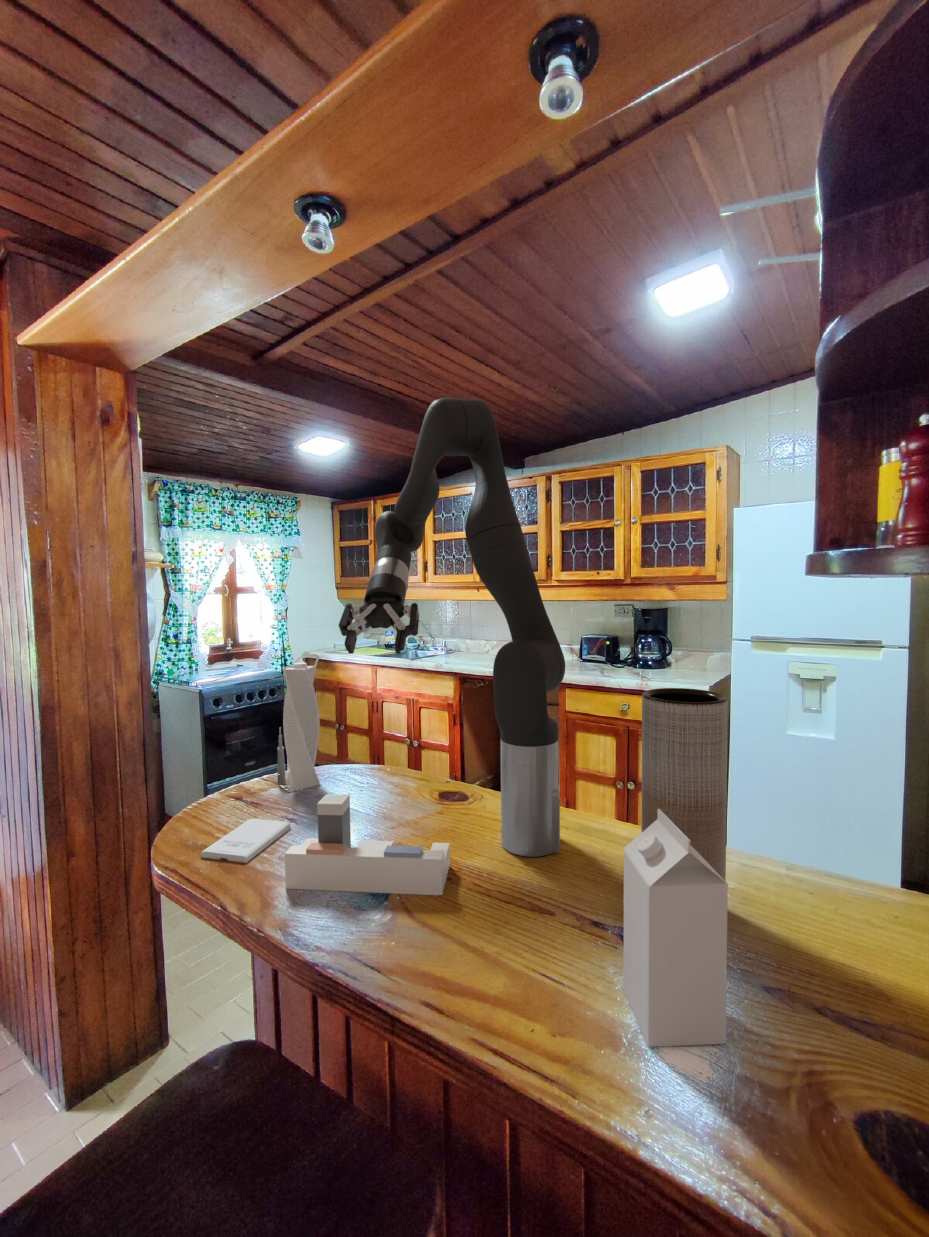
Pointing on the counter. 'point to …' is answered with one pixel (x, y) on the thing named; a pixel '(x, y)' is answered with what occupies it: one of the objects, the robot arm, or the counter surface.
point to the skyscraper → (299, 727)
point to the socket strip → (367, 867)
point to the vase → (687, 766)
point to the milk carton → (674, 939)
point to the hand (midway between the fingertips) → (373, 650)
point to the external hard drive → (246, 840)
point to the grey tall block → (334, 819)
